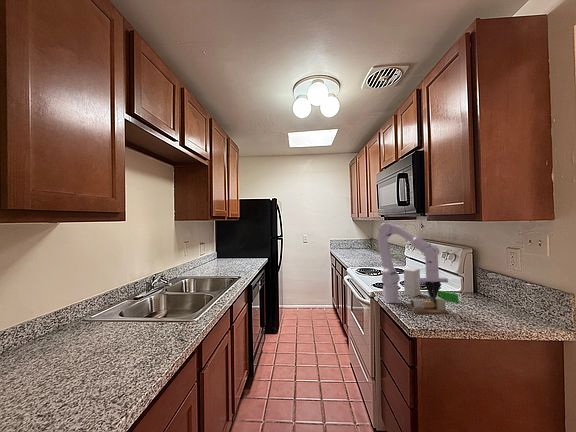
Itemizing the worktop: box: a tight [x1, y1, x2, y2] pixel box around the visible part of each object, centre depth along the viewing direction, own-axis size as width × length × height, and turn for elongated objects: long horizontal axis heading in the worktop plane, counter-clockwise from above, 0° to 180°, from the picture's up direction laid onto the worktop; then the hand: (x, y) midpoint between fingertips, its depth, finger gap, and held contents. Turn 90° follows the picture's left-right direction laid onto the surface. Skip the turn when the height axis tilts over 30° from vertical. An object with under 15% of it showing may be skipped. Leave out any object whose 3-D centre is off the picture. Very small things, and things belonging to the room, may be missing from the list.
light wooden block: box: [423, 293, 437, 307], centre depth 138 cm, size 3×8×7 cm, turn 88°
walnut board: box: [406, 303, 449, 315], centre depth 138 cm, size 12×15×1 cm
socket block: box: [435, 296, 446, 310], centre depth 138 cm, size 7×4×5 cm, turn 178°
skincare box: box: [403, 267, 421, 298], centre depth 166 cm, size 8×7×16 cm
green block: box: [437, 289, 459, 304], centre depth 153 cm, size 11×4×5 cm, turn 27°
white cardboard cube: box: [410, 298, 425, 309], centre depth 138 cm, size 4×5×4 cm
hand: (432, 296), depth 138 cm, fingers closed
